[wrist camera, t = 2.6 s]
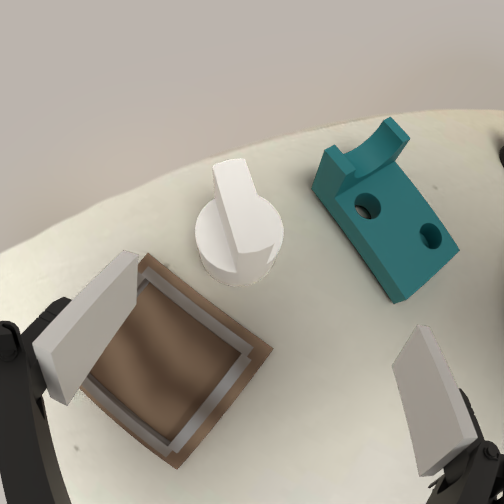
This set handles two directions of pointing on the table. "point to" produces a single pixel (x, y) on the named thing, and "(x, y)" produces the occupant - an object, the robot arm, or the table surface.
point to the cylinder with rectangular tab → (237, 228)
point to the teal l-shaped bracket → (384, 212)
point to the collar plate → (172, 365)
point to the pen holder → (502, 155)
